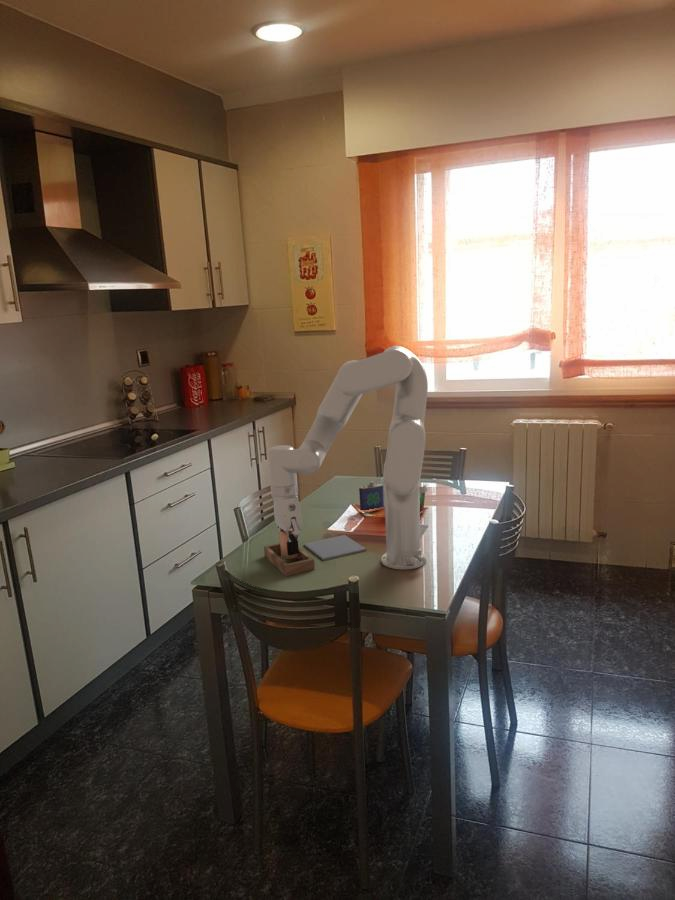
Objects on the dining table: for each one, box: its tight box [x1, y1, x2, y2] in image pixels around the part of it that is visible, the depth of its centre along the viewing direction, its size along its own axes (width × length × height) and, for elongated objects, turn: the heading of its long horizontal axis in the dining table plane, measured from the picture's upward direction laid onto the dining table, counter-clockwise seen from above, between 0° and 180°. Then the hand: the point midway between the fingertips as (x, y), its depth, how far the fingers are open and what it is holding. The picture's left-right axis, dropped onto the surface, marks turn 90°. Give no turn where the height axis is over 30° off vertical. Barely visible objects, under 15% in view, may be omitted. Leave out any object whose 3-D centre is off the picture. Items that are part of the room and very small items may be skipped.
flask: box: [358, 480, 385, 510], centre depth 230 cm, size 9×3×11 cm, turn 114°
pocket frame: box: [263, 542, 315, 577], centre depth 188 cm, size 17×9×3 cm, turn 26°
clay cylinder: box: [278, 528, 299, 560], centre depth 187 cm, size 5×5×7 cm
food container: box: [419, 484, 428, 512], centre depth 224 cm, size 12×6×10 cm, turn 76°
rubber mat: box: [303, 534, 367, 561], centre depth 198 cm, size 14×14×1 cm
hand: (289, 550), depth 187 cm, fingers closed on clay cylinder, 5 cm apart
